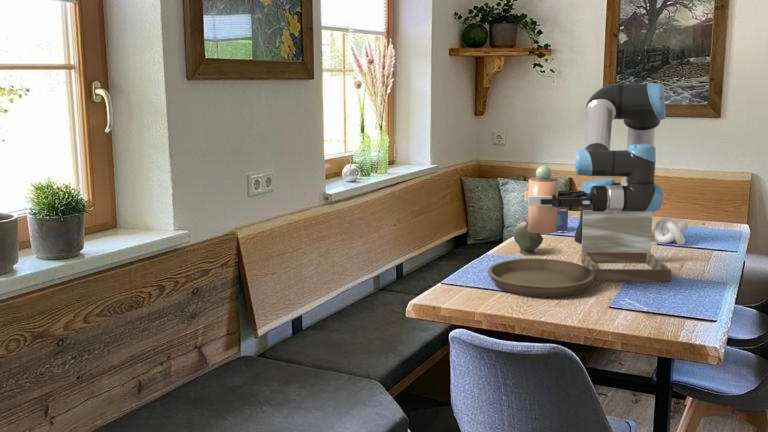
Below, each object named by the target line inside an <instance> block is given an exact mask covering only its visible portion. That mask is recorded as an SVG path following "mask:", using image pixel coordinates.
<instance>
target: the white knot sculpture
mask: <svg viewBox="0 0 768 432" xmlns="http://www.w3.org/2000/svg"><path fill="white" fill-rule="evenodd" d="M688 227H689V221H688V220H686V219H684V218H683V219H679V220H678V221H677V222H676V221H675V220H674V219H673V218H672V217H666V216H665V217H661V218H660V219H659V220H657V222H656V223H655V225H654V230H653V236H654V238H655V241H657V242H658V243H660V244H662V245H666V244H668V243H671V242H676V243H677V245H679V246H682V245H684V244H685V242H686V238H685V237H684V235H685V233H686V231H687V230H688Z"/></svg>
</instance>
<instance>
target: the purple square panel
mask: <svg viewBox="0 0 768 432" xmlns="http://www.w3.org/2000/svg"><path fill="white" fill-rule="evenodd" d="M568 216H569V210H568V209H566V208H564V209H560V208H559V207H558V208H557V231H567V232H568V231H569V229H568V228H569V227H568V226H569V225H568V224H569V220H568V218H569V217H568Z"/></svg>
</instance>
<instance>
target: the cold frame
mask: <svg viewBox="0 0 768 432" xmlns="http://www.w3.org/2000/svg"><path fill="white" fill-rule="evenodd" d="M652 213H653V211H647V212H632V211H617V213H614V212H613V211H607V210H605V211H604V212H594V211H592V210H583V229H582V243H581V257H580V258H581V259H580V261H581V265H583V266H585V267H588V268H589V269H591V270H592V271H593V272H594V274H595V277H594V280H593V281H595V282H631V283H632V282H639V283H640V282H641V283H642V282H644V283H645V282H648V283H651V282H652V283H654V282H655V283H657V282H658V283H665V282H667V283H670V282H671V280H672V270H671V268H669V267H668V266H666V265H665V264H664V263H663V262H662V261H661V260H660V259H659V258H657V257H656V256H655V255H653V254H652V253H651V248H652V232H653V231H652V229H653V214H654V213H653V214H652ZM597 264H647V265H648V266H649V267H650V268H646V269H645V268H643V269H642V268H638V269H637V268H636V269H635V268H627V269H626V268H599V267H598V266H597Z"/></svg>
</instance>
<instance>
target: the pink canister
mask: <svg viewBox="0 0 768 432" xmlns="http://www.w3.org/2000/svg"><path fill="white" fill-rule="evenodd" d="M535 175H536V176H534V177H530V178H529V179H528V190H527V191H528V196H552V195H556V197H558V191H559V179H557V177H552V170H551V168H550V167H549V166H547V165H540V166H538V167H537V168H536V171H535ZM527 222H528V231H529V232H532V233H540V235H542V234H555V233H558V232H557V207H554V206H528V205H527Z"/></svg>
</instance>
